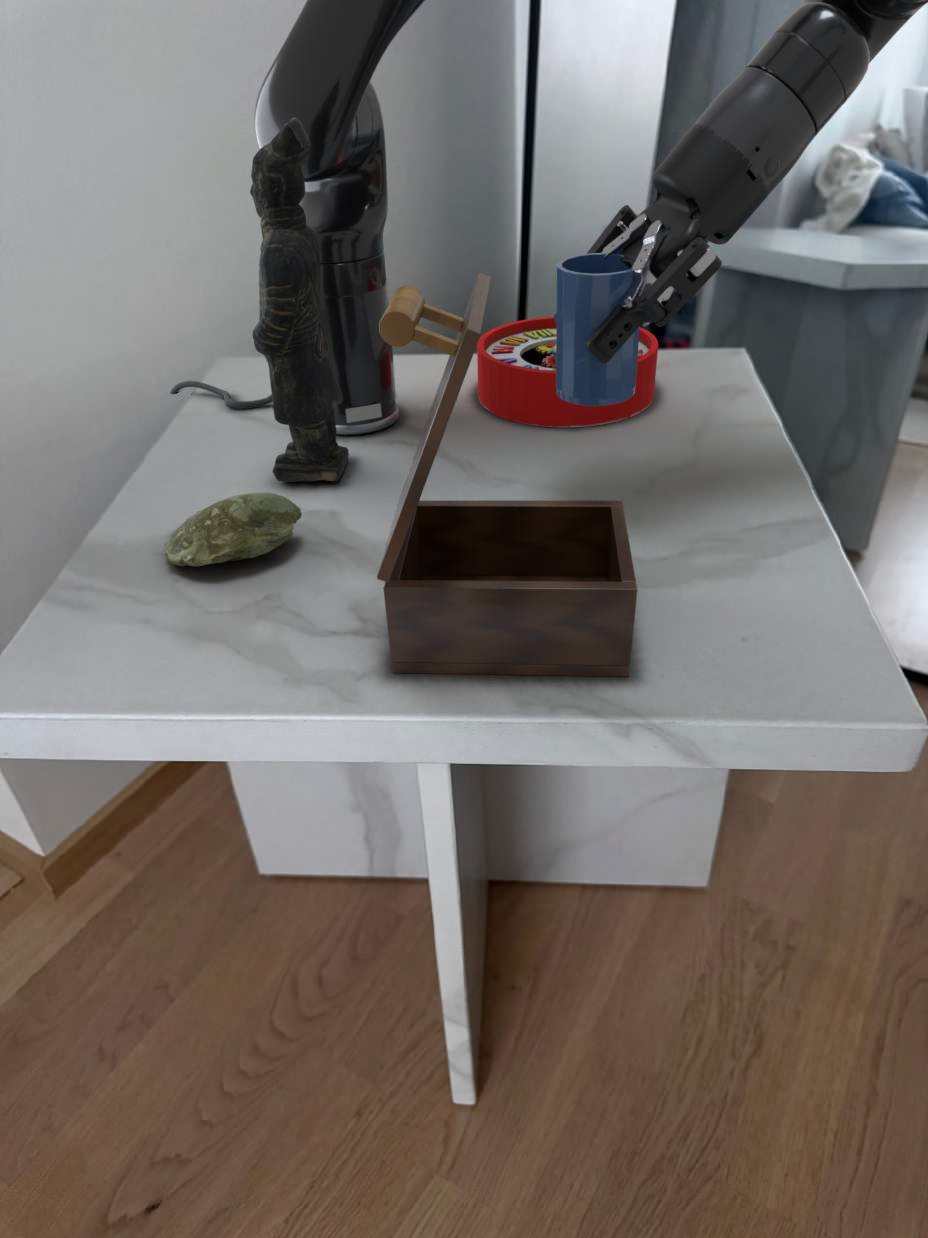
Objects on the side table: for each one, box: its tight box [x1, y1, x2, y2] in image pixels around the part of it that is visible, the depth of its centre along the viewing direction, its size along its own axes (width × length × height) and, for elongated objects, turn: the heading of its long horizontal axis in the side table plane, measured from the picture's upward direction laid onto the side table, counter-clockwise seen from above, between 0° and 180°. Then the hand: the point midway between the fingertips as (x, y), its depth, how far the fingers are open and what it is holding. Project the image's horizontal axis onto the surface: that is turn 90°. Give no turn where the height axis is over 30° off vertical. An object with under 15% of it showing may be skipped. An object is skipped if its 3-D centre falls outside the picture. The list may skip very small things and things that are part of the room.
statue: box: [249, 117, 350, 483], centre depth 76 cm, size 10×7×30 cm
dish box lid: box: [376, 272, 492, 583], centre depth 54 cm, size 17×12×5 cm
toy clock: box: [476, 316, 659, 428], centre depth 97 cm, size 20×6×20 cm
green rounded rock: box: [164, 491, 303, 567], centre depth 72 cm, size 10×7×10 cm
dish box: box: [382, 500, 638, 677], centre depth 60 cm, size 16×12×7 cm
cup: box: [556, 252, 643, 406], centre depth 68 cm, size 6×6×10 cm
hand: (577, 340), depth 68 cm, fingers closed on cup, 6 cm apart
